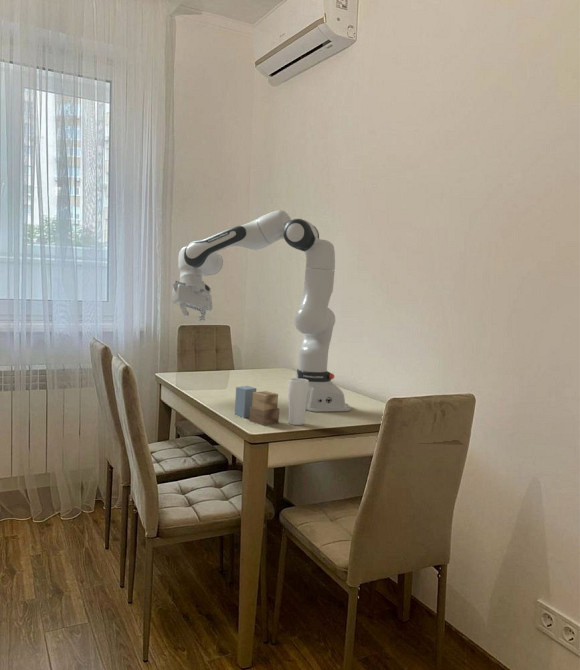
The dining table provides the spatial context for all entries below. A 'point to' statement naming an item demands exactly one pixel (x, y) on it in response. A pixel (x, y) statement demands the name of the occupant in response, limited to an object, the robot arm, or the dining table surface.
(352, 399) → the dining table surface
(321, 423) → the dining table surface
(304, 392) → the drinking glass
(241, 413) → the pillar
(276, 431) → the dining table surface
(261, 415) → the tower base
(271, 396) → the tower top
